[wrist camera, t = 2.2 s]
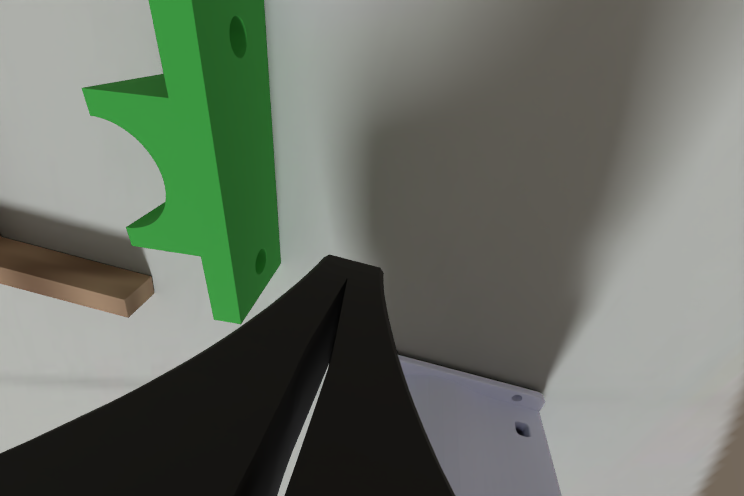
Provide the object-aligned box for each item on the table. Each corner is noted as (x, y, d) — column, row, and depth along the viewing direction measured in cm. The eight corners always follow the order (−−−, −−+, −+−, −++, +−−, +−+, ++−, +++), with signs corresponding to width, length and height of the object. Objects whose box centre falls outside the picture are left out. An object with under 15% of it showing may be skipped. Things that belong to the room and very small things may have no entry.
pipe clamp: (161, -25, 12) (36, -51, 9) (265, -16, 12) (186, -39, 8) (210, 251, 18) (149, 311, 14) (282, 262, 18) (240, 326, 14)
